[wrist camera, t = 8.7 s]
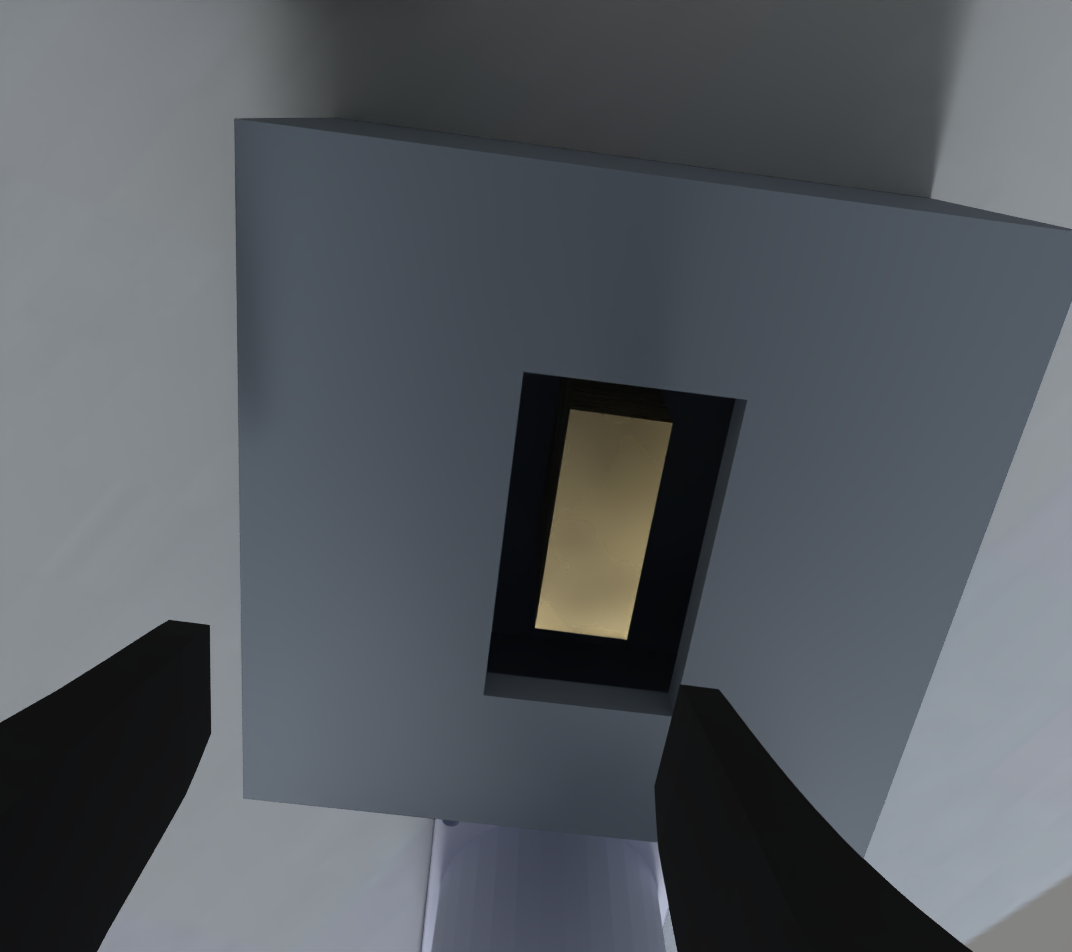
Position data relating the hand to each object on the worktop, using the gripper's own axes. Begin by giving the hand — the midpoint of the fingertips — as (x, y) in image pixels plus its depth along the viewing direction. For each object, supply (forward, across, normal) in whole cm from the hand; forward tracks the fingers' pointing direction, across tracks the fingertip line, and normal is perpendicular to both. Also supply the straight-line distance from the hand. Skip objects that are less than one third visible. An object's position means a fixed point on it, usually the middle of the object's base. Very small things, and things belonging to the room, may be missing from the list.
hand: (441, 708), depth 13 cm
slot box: (+10, -3, -1) cm, 11 cm away
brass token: (+10, -3, -1) cm, 10 cm away
